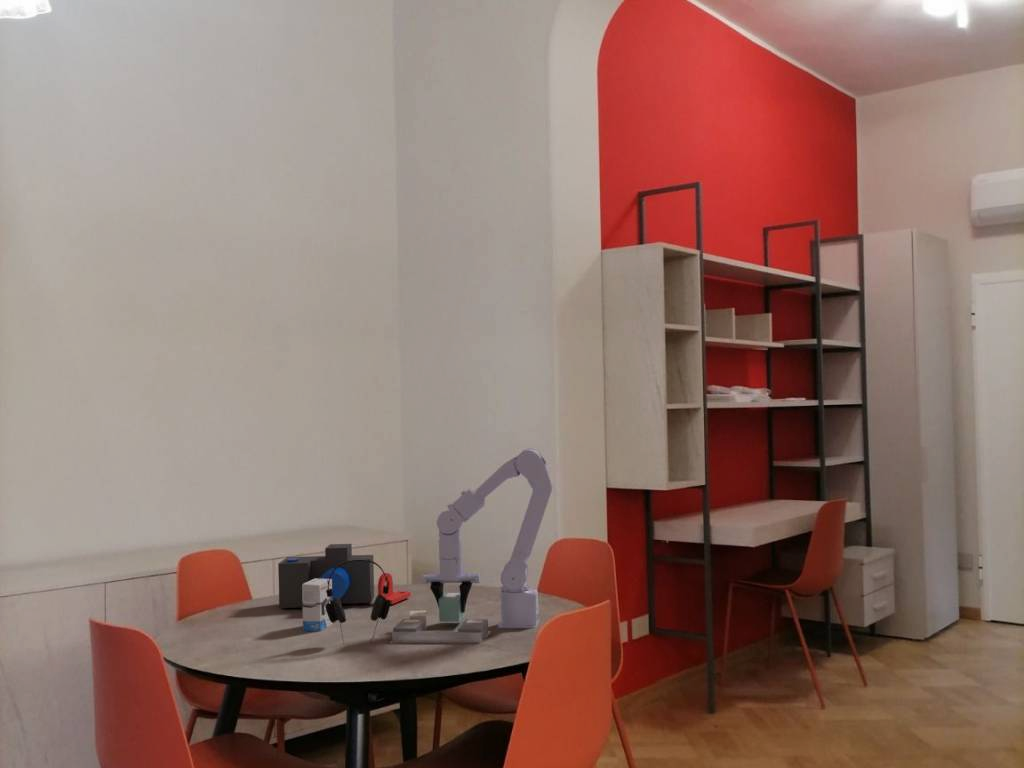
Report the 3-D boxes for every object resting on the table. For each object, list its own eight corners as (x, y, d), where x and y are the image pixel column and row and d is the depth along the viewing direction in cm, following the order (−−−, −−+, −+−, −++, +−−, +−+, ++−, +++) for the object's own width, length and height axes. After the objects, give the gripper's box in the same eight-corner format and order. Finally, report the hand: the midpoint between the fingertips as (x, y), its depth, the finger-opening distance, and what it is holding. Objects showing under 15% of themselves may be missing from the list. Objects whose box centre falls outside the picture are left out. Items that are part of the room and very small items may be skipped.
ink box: (320, 632, 233) (319, 584, 233) (301, 631, 234) (301, 584, 234) (333, 624, 241) (332, 578, 242) (315, 623, 242) (314, 578, 242)
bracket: (392, 604, 264) (391, 575, 264) (378, 603, 266) (377, 575, 266) (412, 595, 275) (411, 568, 275) (398, 594, 277) (397, 567, 277)
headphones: (390, 634, 229) (388, 552, 229) (392, 646, 217) (390, 560, 218) (327, 639, 226) (325, 555, 226) (325, 651, 215) (324, 563, 215)
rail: (481, 642, 217) (481, 631, 217) (480, 643, 216) (480, 632, 216) (393, 641, 220) (393, 630, 220) (392, 642, 219) (391, 631, 219)
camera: (274, 612, 257) (273, 554, 257) (288, 599, 273) (287, 545, 274) (365, 610, 257) (364, 552, 257) (374, 597, 273) (373, 543, 274)
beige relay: (426, 626, 237) (426, 610, 237) (426, 631, 231) (426, 615, 231) (410, 626, 237) (410, 611, 237) (410, 632, 231) (409, 616, 231)
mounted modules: (488, 632, 227) (487, 619, 227) (481, 642, 217) (481, 628, 217) (403, 631, 229) (403, 618, 230) (393, 641, 220) (393, 627, 220)
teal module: (465, 614, 240) (464, 592, 240) (459, 621, 232) (458, 598, 232) (446, 614, 240) (445, 592, 240) (439, 621, 232) (438, 598, 232)
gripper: (481, 554, 239) (483, 608, 239) (426, 555, 241) (427, 608, 241) (476, 559, 232) (478, 614, 232) (419, 560, 234) (421, 614, 234)
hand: (452, 611), depth 236 cm, fingers closed on teal module, 5 cm apart
